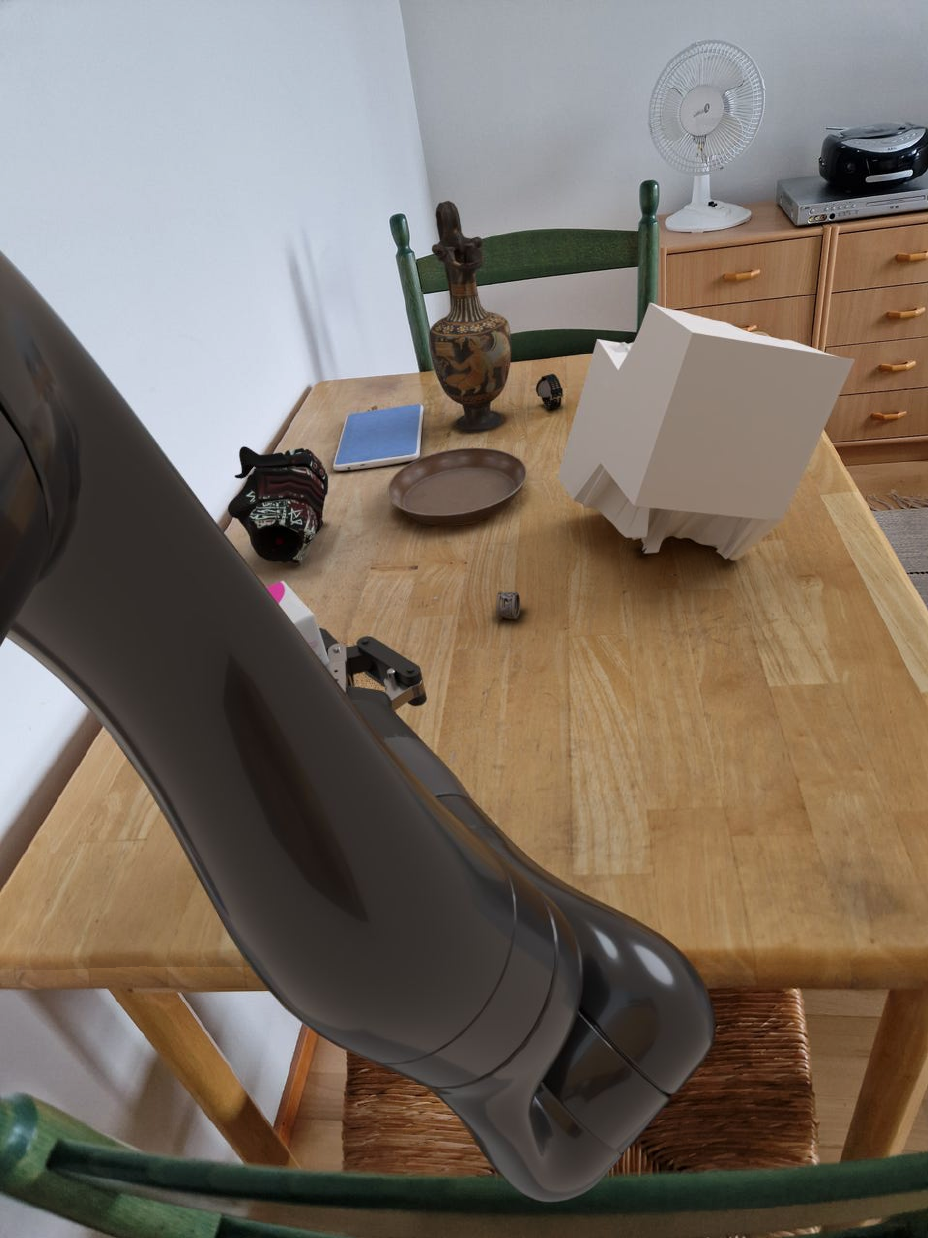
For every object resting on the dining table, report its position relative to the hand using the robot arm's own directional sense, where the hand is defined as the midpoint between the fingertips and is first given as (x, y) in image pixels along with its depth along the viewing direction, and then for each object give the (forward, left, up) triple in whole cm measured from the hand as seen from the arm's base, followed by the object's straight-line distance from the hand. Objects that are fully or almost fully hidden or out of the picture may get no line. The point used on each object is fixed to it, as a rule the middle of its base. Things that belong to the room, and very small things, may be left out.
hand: (265, 657), depth 56 cm
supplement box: (0, -2, -7) cm, 7 cm away
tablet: (+46, +57, -16) cm, 75 cm away
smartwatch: (+68, +43, -16) cm, 82 cm away
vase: (+59, +49, -16) cm, 78 cm away
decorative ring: (+28, +8, -16) cm, 33 cm away
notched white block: (+50, +4, -16) cm, 52 cm away
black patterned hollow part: (+21, +38, -16) cm, 47 cm away
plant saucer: (+41, +32, -16) cm, 54 cm away
